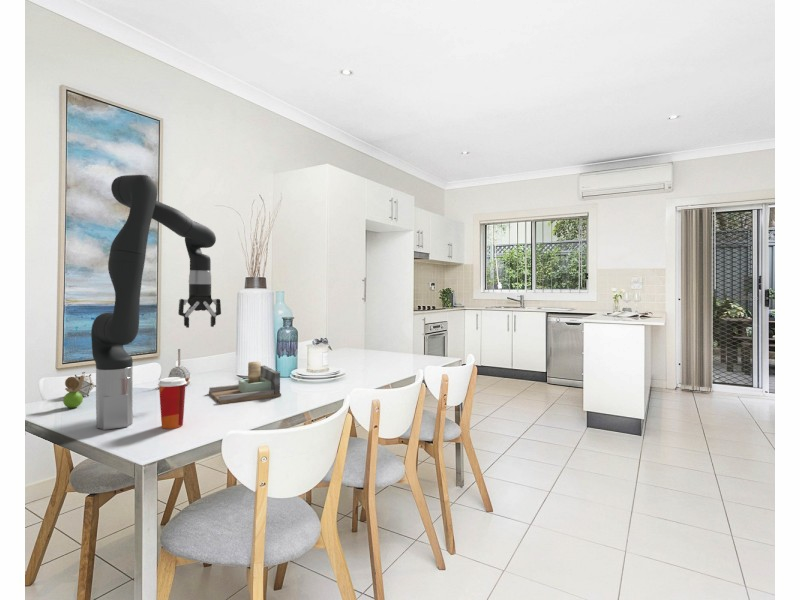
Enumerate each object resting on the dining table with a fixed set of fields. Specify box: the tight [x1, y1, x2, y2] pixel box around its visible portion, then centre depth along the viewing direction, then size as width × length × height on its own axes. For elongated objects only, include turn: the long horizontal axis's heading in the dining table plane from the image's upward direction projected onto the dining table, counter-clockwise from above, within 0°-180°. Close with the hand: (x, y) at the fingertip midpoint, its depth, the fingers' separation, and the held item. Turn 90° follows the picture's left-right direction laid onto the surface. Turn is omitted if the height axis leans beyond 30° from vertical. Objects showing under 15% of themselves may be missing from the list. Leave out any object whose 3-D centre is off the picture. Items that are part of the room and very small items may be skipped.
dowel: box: [247, 361, 262, 383], centre depth 177 cm, size 4×4×10 cm
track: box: [208, 365, 282, 405], centre depth 175 cm, size 18×22×9 cm
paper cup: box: [157, 377, 187, 430], centre depth 137 cm, size 8×8×14 cm
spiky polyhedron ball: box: [74, 373, 96, 397], centre depth 169 cm, size 9×8×10 cm
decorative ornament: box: [167, 348, 191, 386], centre depth 190 cm, size 8×8×15 cm
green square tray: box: [238, 377, 271, 393], centre depth 178 cm, size 10×10×4 cm
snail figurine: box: [62, 371, 86, 409], centre depth 154 cm, size 5×6×12 cm
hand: (200, 327), depth 170 cm, fingers open, 8 cm apart
